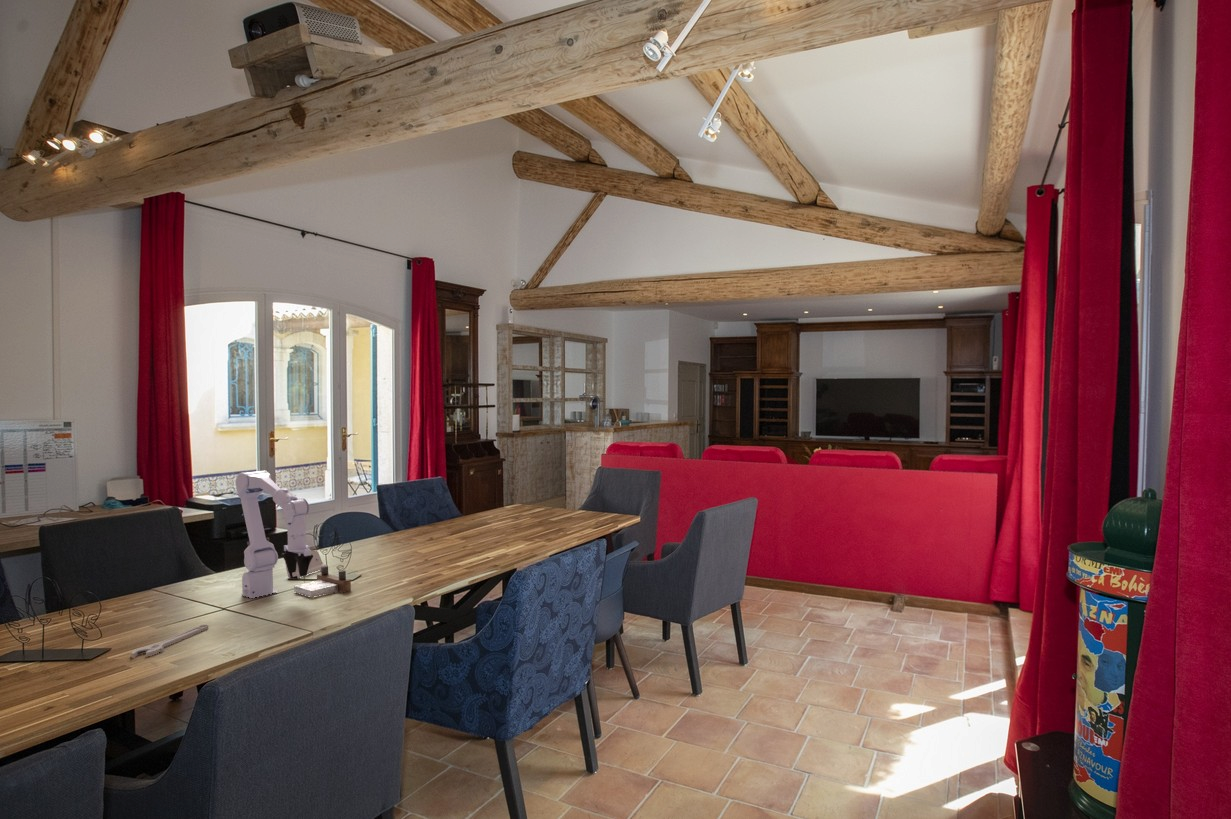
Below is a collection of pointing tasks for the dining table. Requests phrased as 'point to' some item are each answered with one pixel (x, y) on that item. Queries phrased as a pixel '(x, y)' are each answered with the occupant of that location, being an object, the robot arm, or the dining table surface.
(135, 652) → the adjustable wrench
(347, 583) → the stop rail
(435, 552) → the dining table surface
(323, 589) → the plate
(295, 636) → the dining table surface
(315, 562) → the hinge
